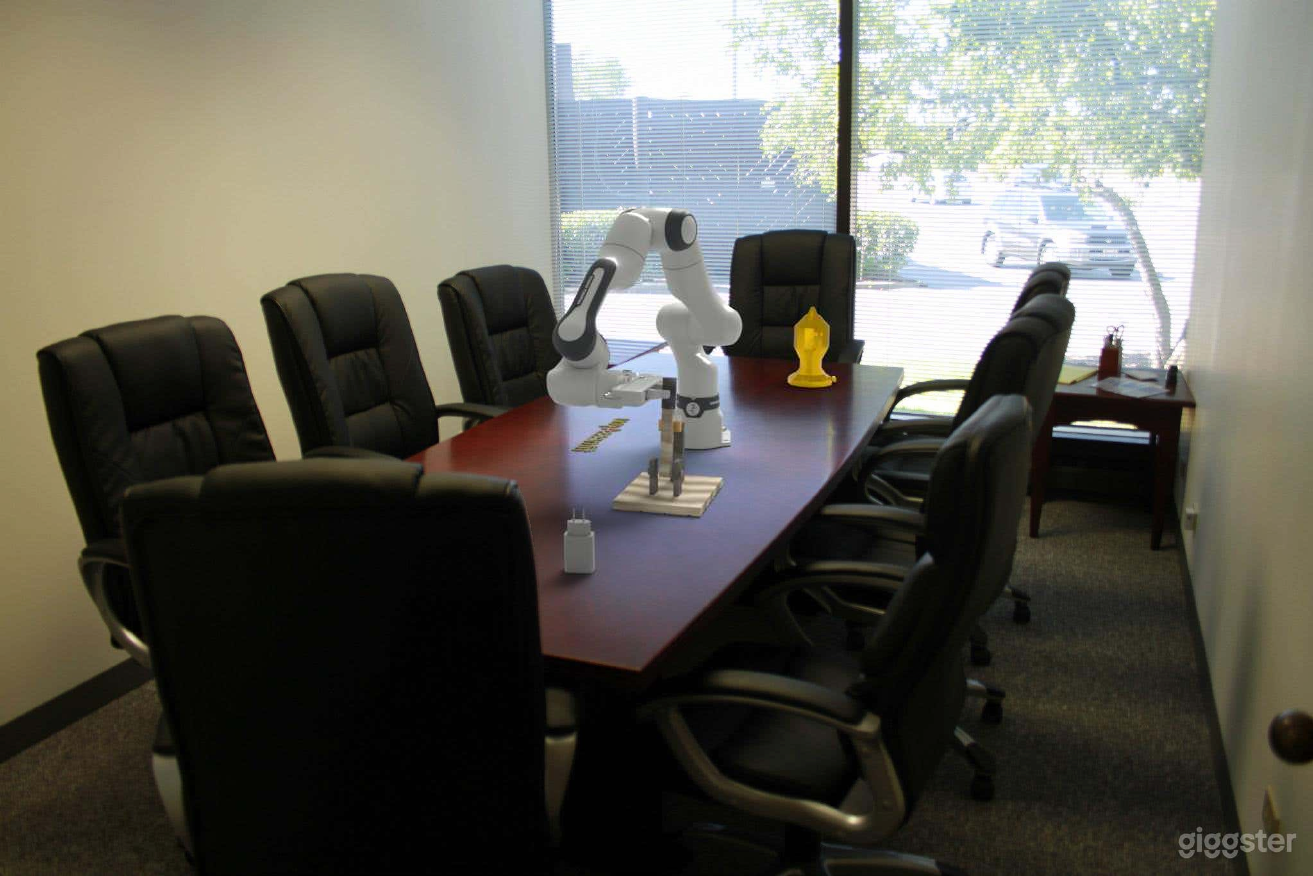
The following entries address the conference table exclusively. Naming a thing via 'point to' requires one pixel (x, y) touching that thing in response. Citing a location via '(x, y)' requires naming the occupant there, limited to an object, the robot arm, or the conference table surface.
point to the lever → (667, 428)
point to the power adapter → (579, 546)
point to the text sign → (610, 429)
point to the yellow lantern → (811, 351)
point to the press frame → (669, 487)
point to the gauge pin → (675, 423)
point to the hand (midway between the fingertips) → (673, 392)
